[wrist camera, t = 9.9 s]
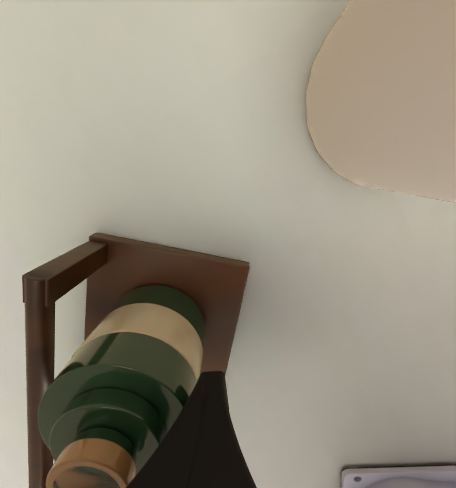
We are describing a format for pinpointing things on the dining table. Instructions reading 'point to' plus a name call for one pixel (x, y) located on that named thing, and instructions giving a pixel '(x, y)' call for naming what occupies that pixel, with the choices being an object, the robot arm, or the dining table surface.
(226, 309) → the rack
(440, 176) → the cream white bottle
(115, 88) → the dining table surface
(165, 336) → the green bottle
